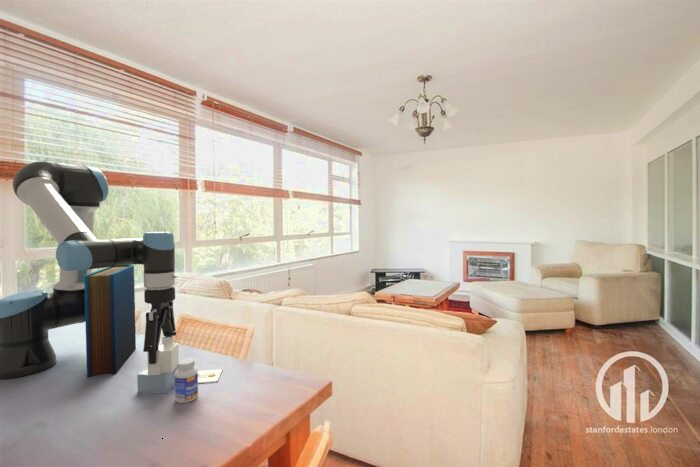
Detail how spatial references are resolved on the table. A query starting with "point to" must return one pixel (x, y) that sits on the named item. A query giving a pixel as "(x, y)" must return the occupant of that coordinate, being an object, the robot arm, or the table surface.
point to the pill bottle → (186, 381)
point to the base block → (156, 382)
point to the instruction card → (209, 376)
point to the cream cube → (168, 357)
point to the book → (109, 318)
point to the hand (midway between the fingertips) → (161, 366)
